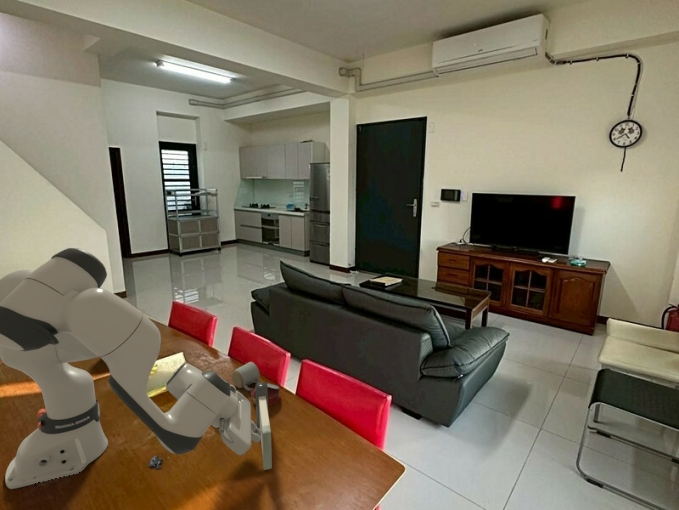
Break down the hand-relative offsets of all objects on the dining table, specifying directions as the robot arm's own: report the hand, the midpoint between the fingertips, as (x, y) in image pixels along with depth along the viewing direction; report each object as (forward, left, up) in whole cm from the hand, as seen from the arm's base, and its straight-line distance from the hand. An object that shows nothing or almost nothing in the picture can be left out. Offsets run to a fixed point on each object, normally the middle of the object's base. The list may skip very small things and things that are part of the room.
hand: (259, 436), depth 102 cm
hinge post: (+6, +12, -6) cm, 15 cm away
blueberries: (-24, +13, -7) cm, 28 cm away
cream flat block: (+2, +2, -6) cm, 6 cm away
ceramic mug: (+10, +37, -7) cm, 39 cm away
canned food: (+12, +26, -7) cm, 29 cm away
